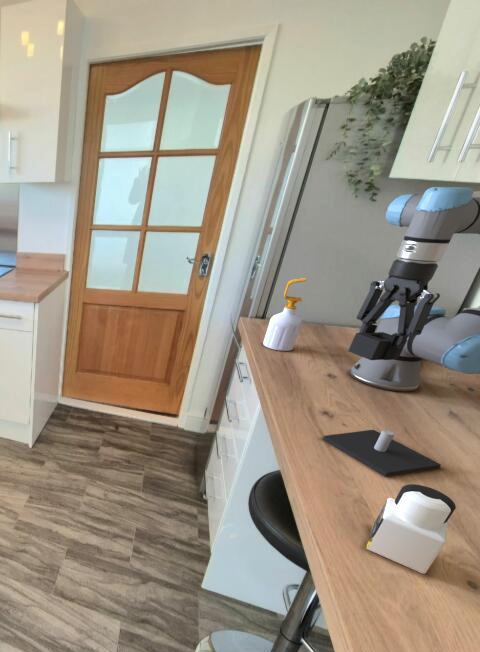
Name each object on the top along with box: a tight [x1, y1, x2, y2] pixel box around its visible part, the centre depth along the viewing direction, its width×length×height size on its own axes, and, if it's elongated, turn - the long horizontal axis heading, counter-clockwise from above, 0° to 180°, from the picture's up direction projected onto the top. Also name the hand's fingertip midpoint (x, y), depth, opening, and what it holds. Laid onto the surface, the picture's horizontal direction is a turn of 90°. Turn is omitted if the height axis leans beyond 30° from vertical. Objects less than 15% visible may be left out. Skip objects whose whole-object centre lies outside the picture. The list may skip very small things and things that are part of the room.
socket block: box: [347, 331, 407, 360], centre depth 107 cm, size 8×6×5 cm
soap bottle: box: [262, 277, 307, 352], centre depth 148 cm, size 9×9×25 cm
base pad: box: [322, 429, 442, 477], centre depth 94 cm, size 14×14×6 cm
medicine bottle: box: [366, 483, 457, 575], centre depth 69 cm, size 7×7×12 cm
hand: (373, 353), depth 108 cm, fingers closed on socket block, 6 cm apart
